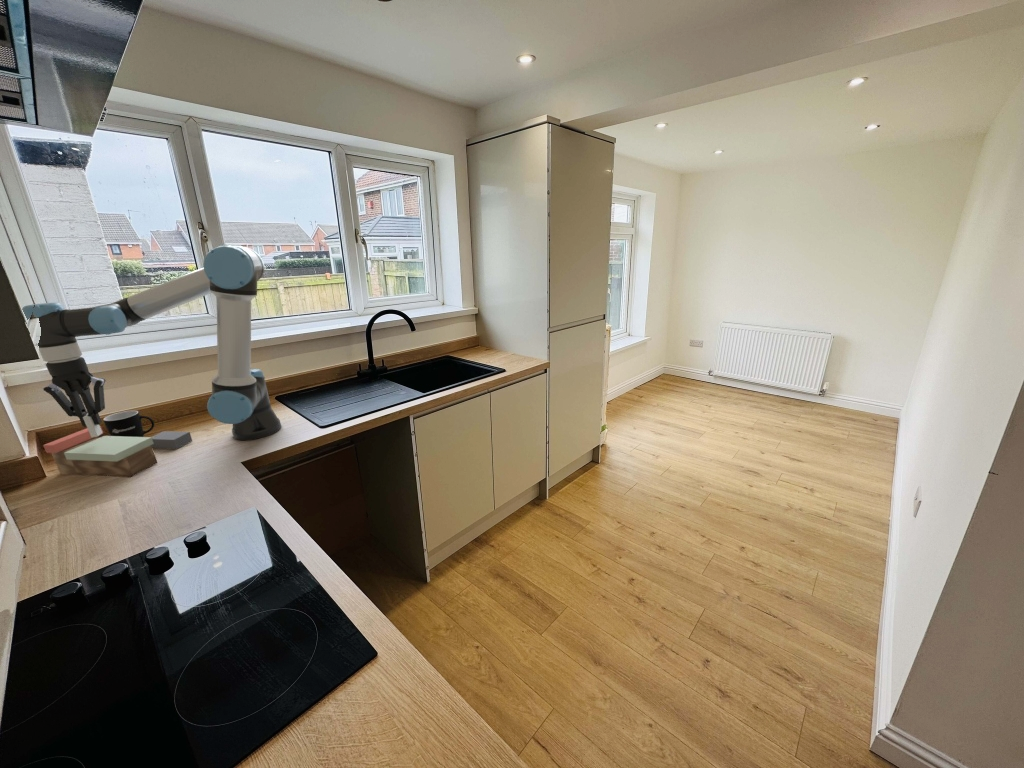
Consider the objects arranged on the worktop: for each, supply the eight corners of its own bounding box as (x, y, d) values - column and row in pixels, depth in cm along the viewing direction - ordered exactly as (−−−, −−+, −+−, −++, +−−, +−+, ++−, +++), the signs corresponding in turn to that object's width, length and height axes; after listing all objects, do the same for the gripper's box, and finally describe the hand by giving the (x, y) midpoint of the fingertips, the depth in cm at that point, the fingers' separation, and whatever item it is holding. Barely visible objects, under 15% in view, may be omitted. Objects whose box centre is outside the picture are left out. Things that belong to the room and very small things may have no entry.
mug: (111, 450, 135) (100, 423, 132) (115, 441, 142) (105, 414, 139) (157, 440, 142) (148, 413, 138) (159, 431, 149) (150, 406, 145)
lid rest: (192, 441, 140) (189, 431, 139) (177, 449, 135) (173, 439, 133) (166, 440, 141) (163, 431, 140) (150, 448, 136) (147, 438, 135)
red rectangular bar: (103, 433, 128) (100, 426, 127) (55, 453, 115) (51, 445, 115) (95, 433, 128) (92, 425, 127) (46, 452, 116) (42, 445, 115)
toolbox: (157, 462, 126) (149, 439, 123) (130, 477, 118) (121, 452, 116) (91, 460, 129) (81, 437, 126) (60, 474, 121) (49, 449, 118)
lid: (153, 443, 125) (151, 437, 125) (117, 461, 115) (114, 454, 114) (106, 442, 127) (104, 435, 127) (66, 459, 117) (63, 452, 116)
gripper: (101, 353, 118) (130, 425, 126) (42, 359, 114) (76, 434, 121) (86, 359, 111) (118, 435, 119) (23, 366, 107) (61, 445, 115)
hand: (97, 435), depth 120 cm, fingers closed
